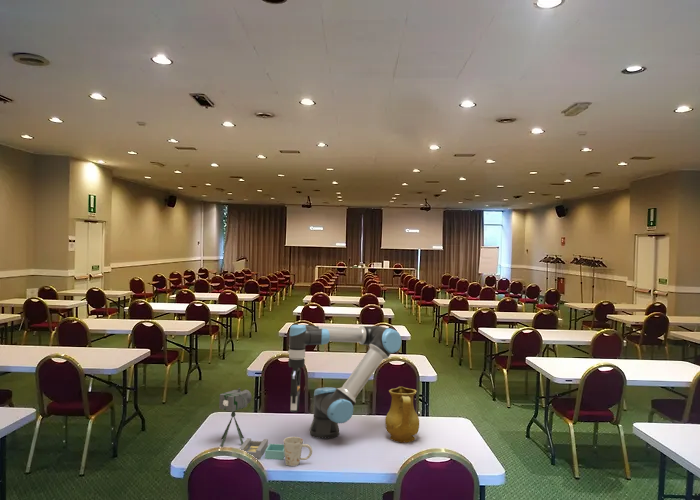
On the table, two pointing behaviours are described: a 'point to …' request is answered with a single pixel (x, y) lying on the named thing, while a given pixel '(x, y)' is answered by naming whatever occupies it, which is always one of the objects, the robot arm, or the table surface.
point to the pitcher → (402, 416)
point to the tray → (275, 451)
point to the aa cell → (297, 399)
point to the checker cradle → (255, 447)
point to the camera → (234, 407)
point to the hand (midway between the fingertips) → (294, 408)
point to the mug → (294, 450)
